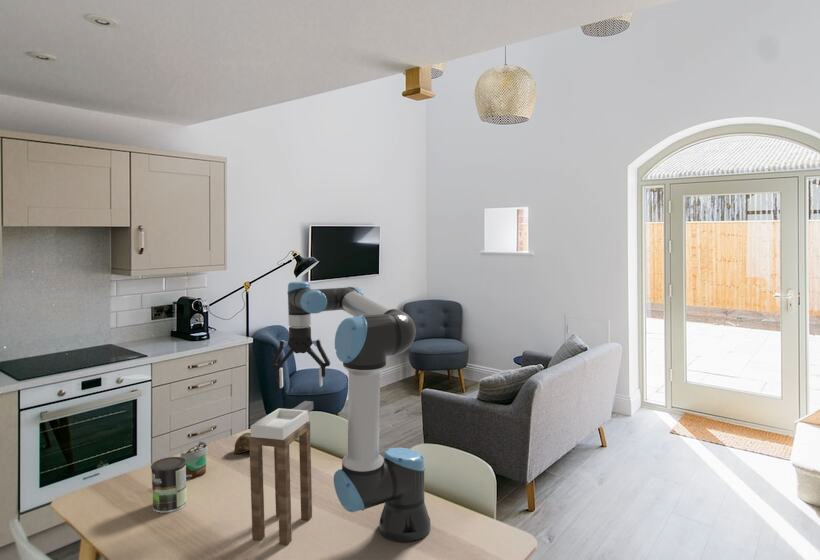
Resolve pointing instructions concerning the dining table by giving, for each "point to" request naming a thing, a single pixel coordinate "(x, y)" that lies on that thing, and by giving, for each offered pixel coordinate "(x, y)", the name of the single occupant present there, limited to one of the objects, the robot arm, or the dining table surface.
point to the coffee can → (169, 484)
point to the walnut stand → (280, 482)
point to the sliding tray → (282, 422)
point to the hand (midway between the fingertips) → (301, 386)
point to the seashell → (242, 443)
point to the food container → (196, 460)
